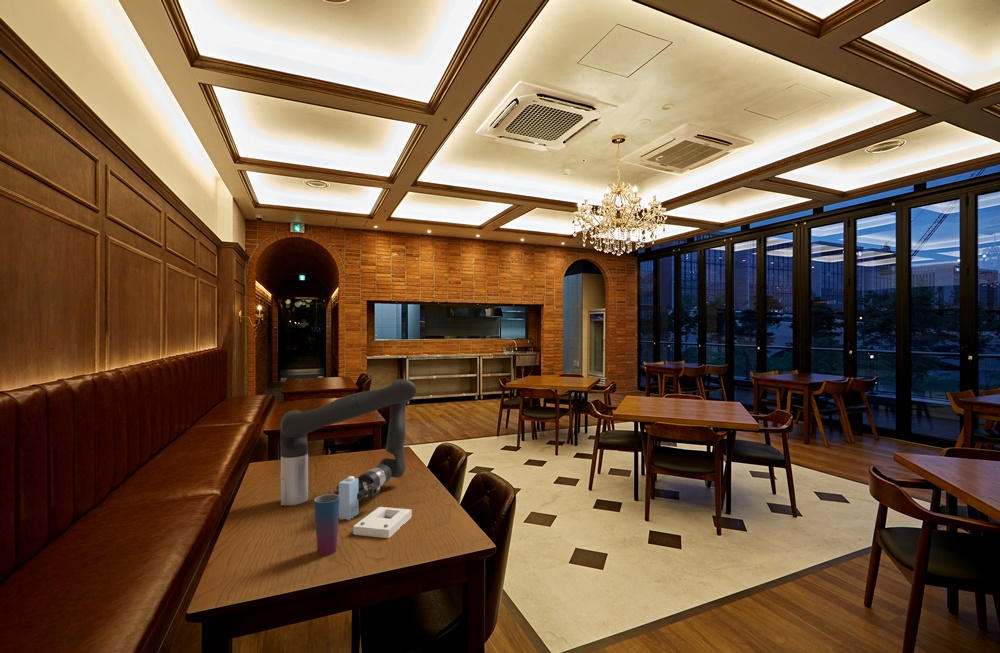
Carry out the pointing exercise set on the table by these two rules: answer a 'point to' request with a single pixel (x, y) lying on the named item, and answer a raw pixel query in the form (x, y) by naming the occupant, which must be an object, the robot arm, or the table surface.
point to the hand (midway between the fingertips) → (346, 496)
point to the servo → (348, 498)
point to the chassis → (382, 522)
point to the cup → (326, 523)
